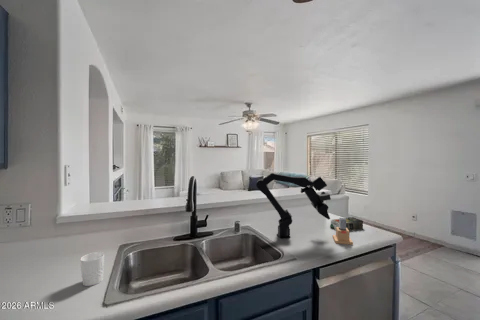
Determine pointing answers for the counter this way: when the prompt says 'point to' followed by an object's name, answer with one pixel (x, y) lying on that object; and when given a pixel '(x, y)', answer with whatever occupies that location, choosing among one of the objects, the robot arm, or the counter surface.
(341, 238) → the jack stand base
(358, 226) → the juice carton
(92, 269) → the white cup
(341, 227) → the jack stand column
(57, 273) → the counter surface
